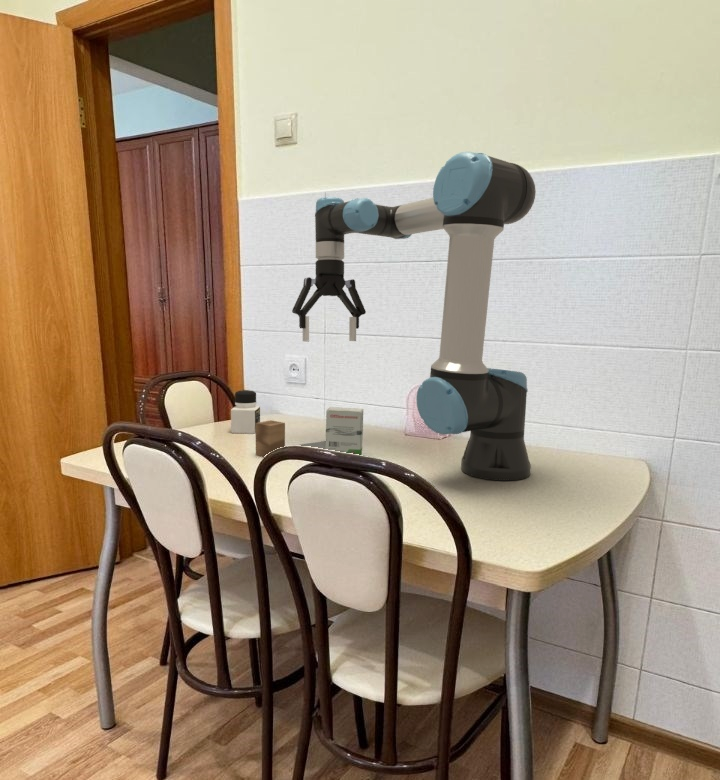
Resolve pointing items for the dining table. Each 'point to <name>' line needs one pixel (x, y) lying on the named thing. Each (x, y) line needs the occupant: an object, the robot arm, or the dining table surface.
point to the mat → (316, 444)
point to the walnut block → (269, 436)
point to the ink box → (344, 429)
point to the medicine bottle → (245, 412)
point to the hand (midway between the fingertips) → (329, 341)
